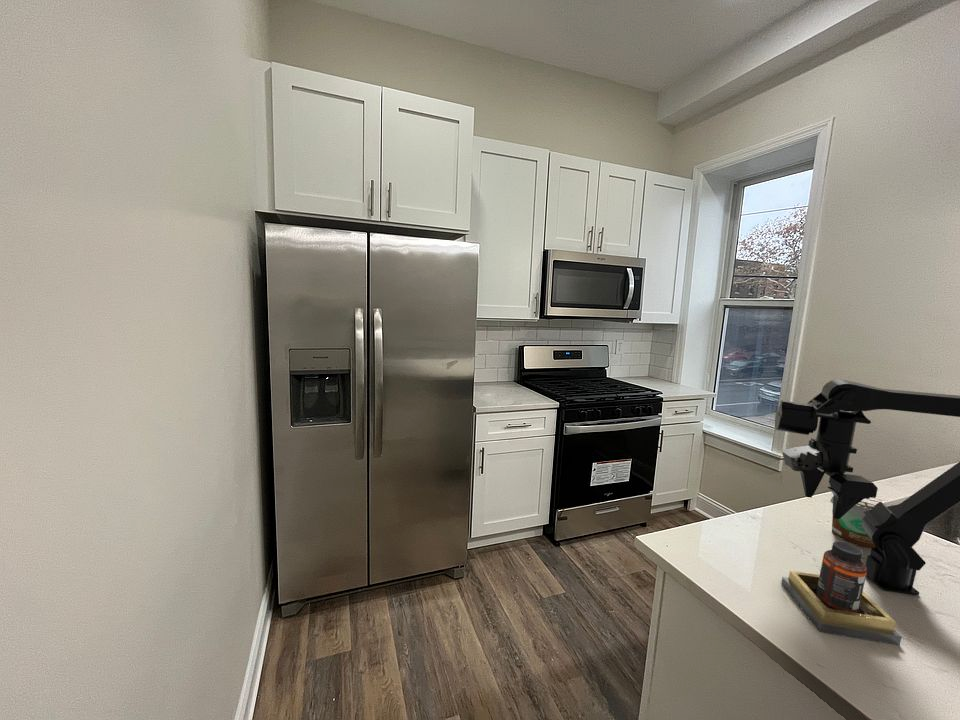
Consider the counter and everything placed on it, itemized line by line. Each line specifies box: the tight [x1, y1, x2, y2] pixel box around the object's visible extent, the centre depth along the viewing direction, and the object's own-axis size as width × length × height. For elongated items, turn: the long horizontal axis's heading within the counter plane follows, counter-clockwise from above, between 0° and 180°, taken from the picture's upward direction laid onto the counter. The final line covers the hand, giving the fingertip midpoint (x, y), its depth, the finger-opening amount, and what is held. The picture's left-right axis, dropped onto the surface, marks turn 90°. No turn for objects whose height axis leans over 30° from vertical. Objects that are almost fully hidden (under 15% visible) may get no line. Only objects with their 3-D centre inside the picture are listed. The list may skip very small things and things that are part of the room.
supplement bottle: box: [817, 540, 867, 613], centre depth 73 cm, size 6×6×11 cm
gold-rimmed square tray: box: [780, 570, 903, 646], centre depth 74 cm, size 12×12×4 cm
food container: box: [829, 496, 894, 549], centre depth 95 cm, size 12×6×10 cm, turn 68°
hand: (821, 507), depth 86 cm, fingers open, 9 cm apart
